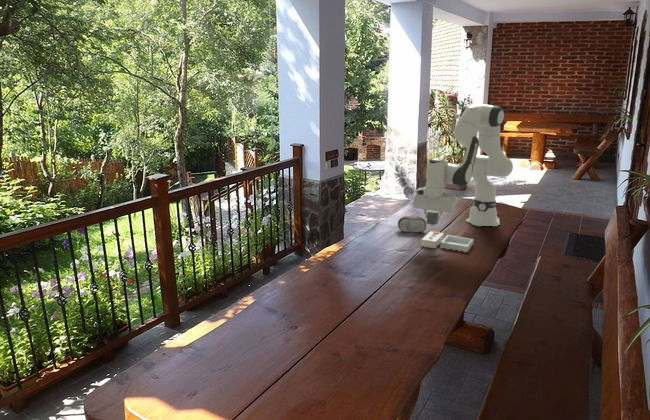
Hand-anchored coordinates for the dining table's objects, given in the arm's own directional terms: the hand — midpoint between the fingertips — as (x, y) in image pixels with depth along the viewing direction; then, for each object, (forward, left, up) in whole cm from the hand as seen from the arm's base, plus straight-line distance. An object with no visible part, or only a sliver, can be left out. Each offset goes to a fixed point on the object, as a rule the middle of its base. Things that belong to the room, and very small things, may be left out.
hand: (432, 218), depth 241 cm
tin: (-15, -15, -14) cm, 25 cm away
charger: (0, 0, -4) cm, 4 cm away
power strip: (-6, 0, -13) cm, 15 cm away
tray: (-4, +12, -13) cm, 18 cm away
